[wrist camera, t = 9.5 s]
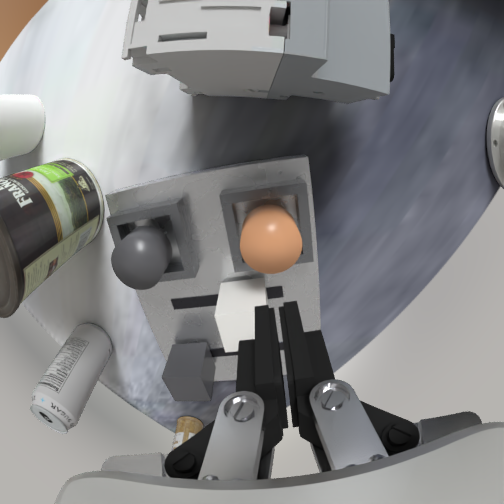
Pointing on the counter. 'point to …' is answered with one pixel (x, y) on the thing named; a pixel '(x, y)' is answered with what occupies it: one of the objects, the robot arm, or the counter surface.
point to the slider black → (190, 372)
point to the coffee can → (44, 225)
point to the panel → (219, 247)
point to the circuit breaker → (266, 47)
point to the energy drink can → (71, 378)
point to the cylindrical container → (20, 124)
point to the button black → (142, 257)
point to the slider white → (239, 310)
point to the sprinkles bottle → (186, 430)
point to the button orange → (270, 239)
